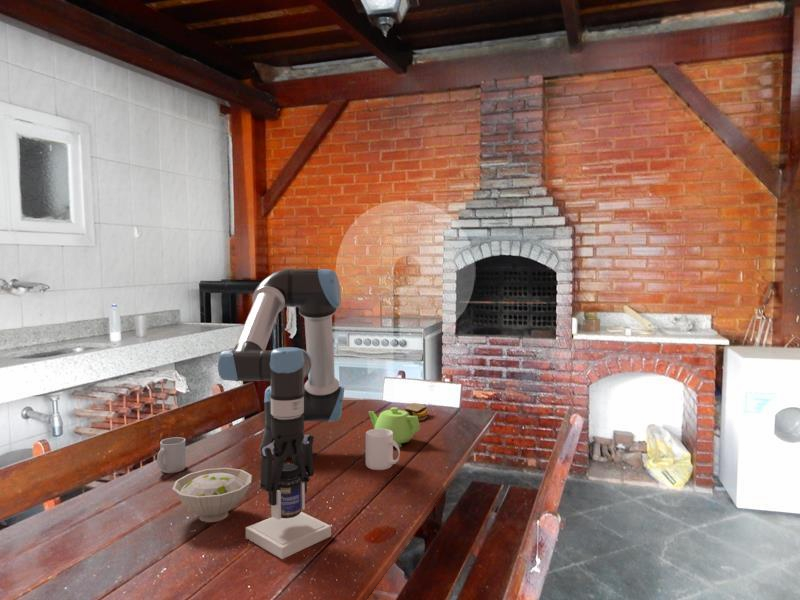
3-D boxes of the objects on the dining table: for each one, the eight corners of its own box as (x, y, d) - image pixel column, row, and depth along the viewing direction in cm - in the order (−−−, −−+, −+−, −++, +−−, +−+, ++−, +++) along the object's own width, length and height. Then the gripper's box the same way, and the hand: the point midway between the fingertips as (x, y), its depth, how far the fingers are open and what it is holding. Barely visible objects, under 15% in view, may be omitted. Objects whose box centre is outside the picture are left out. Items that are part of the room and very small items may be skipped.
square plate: (245, 537, 131) (245, 526, 131) (294, 517, 142) (294, 507, 141) (281, 559, 122) (281, 547, 122) (330, 536, 132) (330, 525, 132)
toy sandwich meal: (390, 418, 234) (390, 406, 233) (413, 412, 243) (413, 401, 243) (412, 424, 225) (412, 412, 224) (435, 418, 234) (435, 406, 234)
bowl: (208, 541, 129) (207, 499, 129) (156, 521, 140) (155, 481, 139) (269, 510, 146) (268, 473, 145) (218, 494, 156) (218, 458, 155)
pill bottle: (278, 521, 127) (277, 473, 126) (271, 510, 133) (270, 465, 132) (304, 515, 130) (304, 469, 129) (297, 505, 136) (296, 460, 135)
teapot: (360, 443, 200) (360, 408, 199) (378, 433, 212) (378, 400, 211) (411, 452, 191) (411, 415, 190) (426, 441, 203) (427, 406, 202)
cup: (190, 466, 177) (190, 438, 176) (167, 478, 167) (167, 448, 167) (172, 463, 179) (171, 436, 179) (148, 474, 170) (147, 445, 169)
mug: (391, 475, 170) (391, 440, 170) (360, 467, 177) (360, 433, 176) (406, 466, 178) (407, 433, 177) (376, 459, 184) (376, 427, 183)
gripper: (261, 427, 120) (262, 532, 122) (329, 410, 134) (329, 504, 136) (242, 420, 125) (243, 521, 127) (309, 404, 139) (310, 495, 141)
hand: (288, 512), depth 131 cm, fingers closed on pill bottle, 6 cm apart
